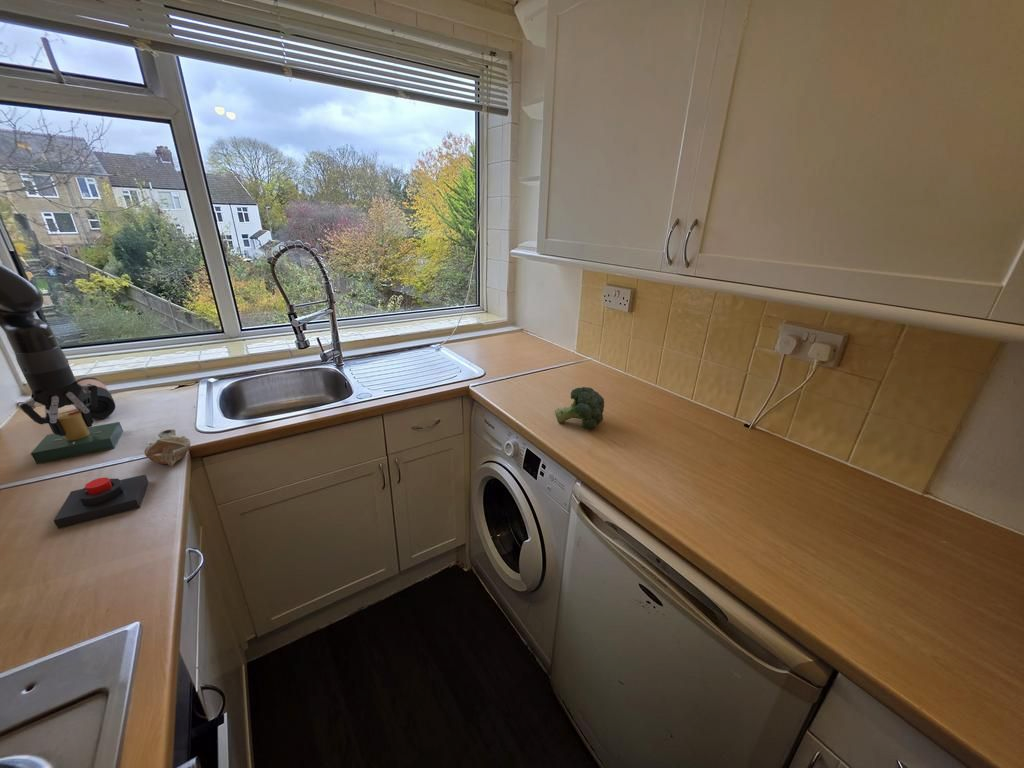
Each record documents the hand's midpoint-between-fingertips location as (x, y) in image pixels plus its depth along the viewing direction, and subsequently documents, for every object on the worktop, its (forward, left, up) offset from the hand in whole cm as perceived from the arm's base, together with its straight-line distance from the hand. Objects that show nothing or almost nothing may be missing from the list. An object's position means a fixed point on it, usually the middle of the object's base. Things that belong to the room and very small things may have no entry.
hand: (75, 430), depth 102 cm
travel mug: (+1, +17, -1) cm, 17 cm away
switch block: (+11, -32, -5) cm, 34 cm away
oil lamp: (+20, -17, -5) cm, 27 cm away
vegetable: (+119, -54, -5) cm, 131 cm away
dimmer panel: (0, 0, -5) cm, 5 cm away
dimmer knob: (0, 0, -2) cm, 2 cm away
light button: (+11, -32, -1) cm, 34 cm away
